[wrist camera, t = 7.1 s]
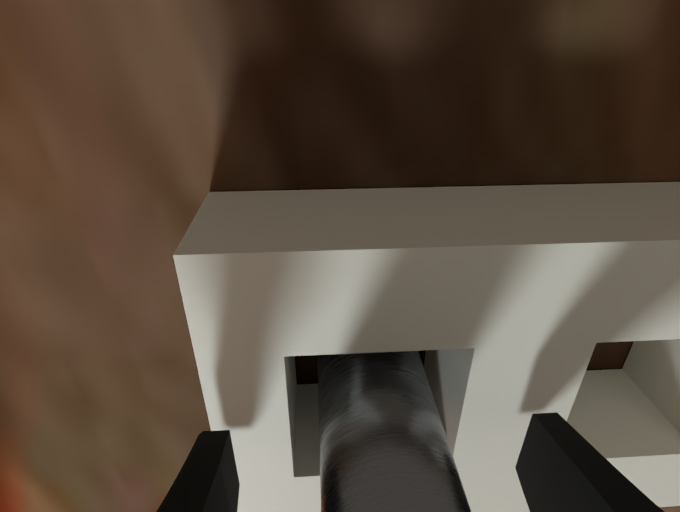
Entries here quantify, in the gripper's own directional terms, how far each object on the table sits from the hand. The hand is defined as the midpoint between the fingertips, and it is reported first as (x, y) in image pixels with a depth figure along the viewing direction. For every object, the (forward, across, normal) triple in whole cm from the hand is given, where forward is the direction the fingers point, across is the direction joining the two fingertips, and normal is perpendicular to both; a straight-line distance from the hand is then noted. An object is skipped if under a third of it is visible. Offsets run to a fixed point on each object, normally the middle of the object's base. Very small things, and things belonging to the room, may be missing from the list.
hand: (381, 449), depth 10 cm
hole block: (+4, -4, 0) cm, 6 cm away
